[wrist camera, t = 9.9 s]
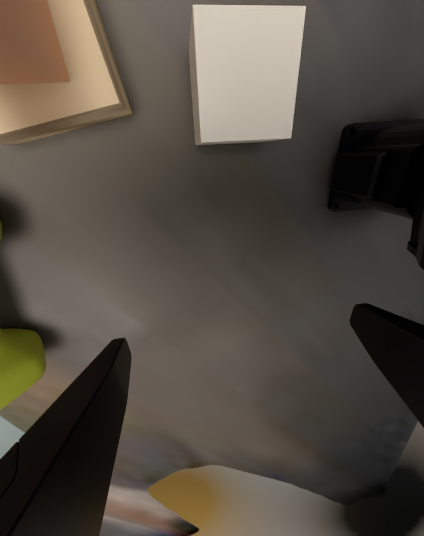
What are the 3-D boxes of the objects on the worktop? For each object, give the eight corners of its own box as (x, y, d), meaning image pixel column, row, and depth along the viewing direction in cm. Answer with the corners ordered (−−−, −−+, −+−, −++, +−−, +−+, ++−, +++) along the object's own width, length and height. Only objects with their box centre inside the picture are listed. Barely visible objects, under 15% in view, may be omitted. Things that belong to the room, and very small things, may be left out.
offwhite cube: (266, 52, 14) (306, 6, 9) (261, 142, 16) (291, 138, 12) (188, 52, 13) (192, 4, 9) (195, 145, 16) (201, 142, 11)
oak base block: (69, -76, 11) (16, -186, 7) (133, 115, 15) (119, 102, 11) (-86, -36, 11) (-216, -128, 7) (19, 145, 15) (-32, 142, 11)
